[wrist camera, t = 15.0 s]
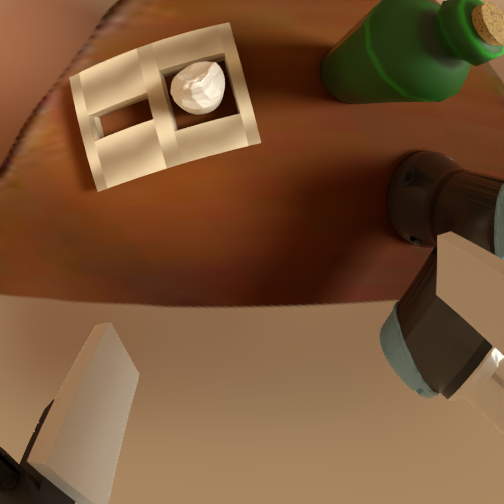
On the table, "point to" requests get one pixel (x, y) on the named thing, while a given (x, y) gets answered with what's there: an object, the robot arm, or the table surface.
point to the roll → (199, 87)
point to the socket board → (158, 107)
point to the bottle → (412, 51)
